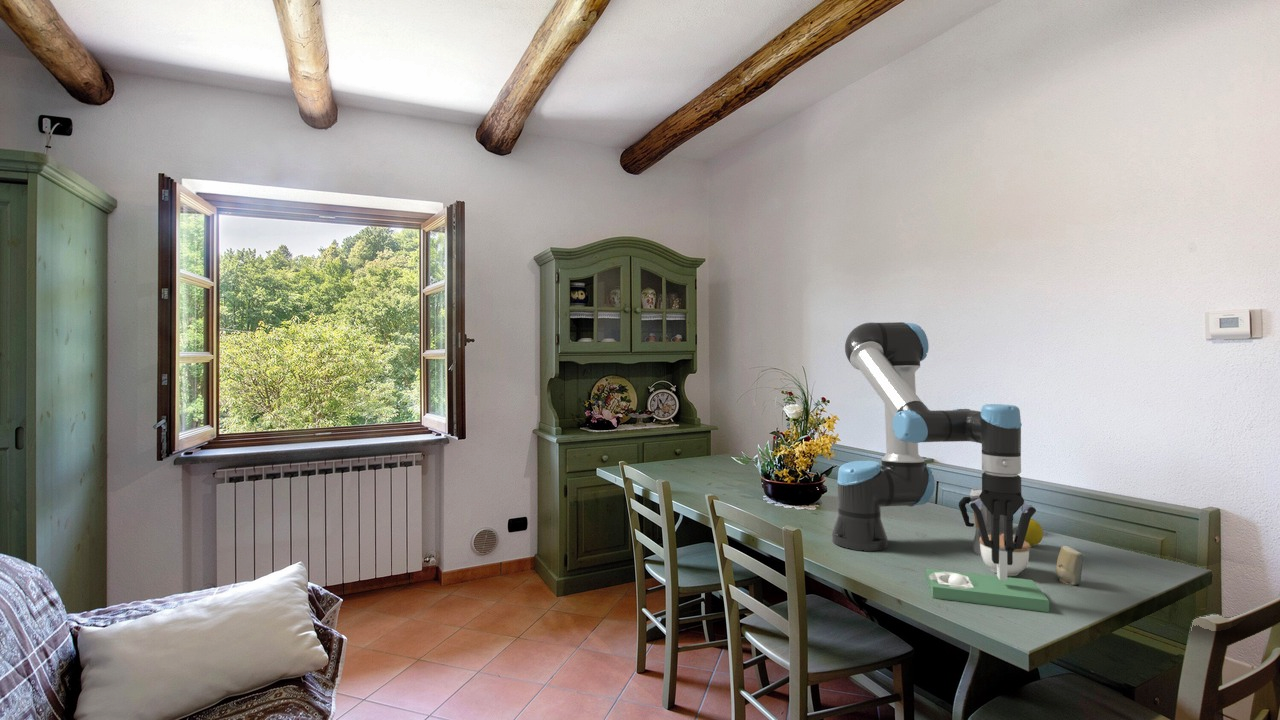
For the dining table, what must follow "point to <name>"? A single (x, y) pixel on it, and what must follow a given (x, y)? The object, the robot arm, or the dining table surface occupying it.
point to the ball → (957, 579)
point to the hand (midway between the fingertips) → (1002, 578)
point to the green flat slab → (988, 590)
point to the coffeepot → (987, 522)
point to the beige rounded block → (1069, 566)
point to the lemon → (1034, 533)
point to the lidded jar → (1018, 557)
